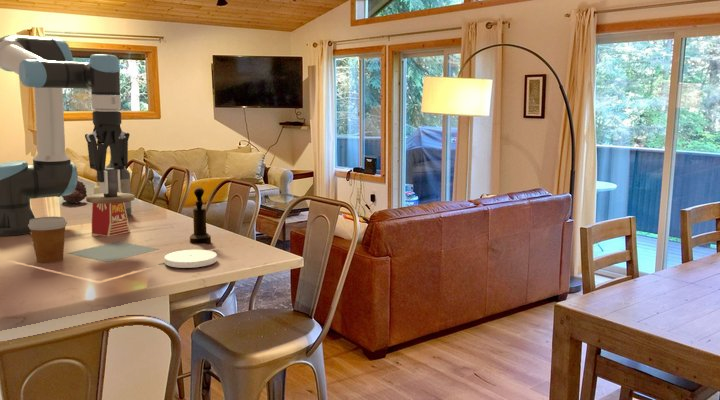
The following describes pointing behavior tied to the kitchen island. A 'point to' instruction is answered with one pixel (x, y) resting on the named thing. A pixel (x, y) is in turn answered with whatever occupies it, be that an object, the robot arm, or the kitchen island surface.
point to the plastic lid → (190, 258)
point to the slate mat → (112, 251)
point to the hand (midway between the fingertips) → (110, 192)
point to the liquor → (124, 185)
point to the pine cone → (76, 194)
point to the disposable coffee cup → (48, 238)
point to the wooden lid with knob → (110, 192)
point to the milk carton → (108, 217)
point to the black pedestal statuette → (199, 220)
